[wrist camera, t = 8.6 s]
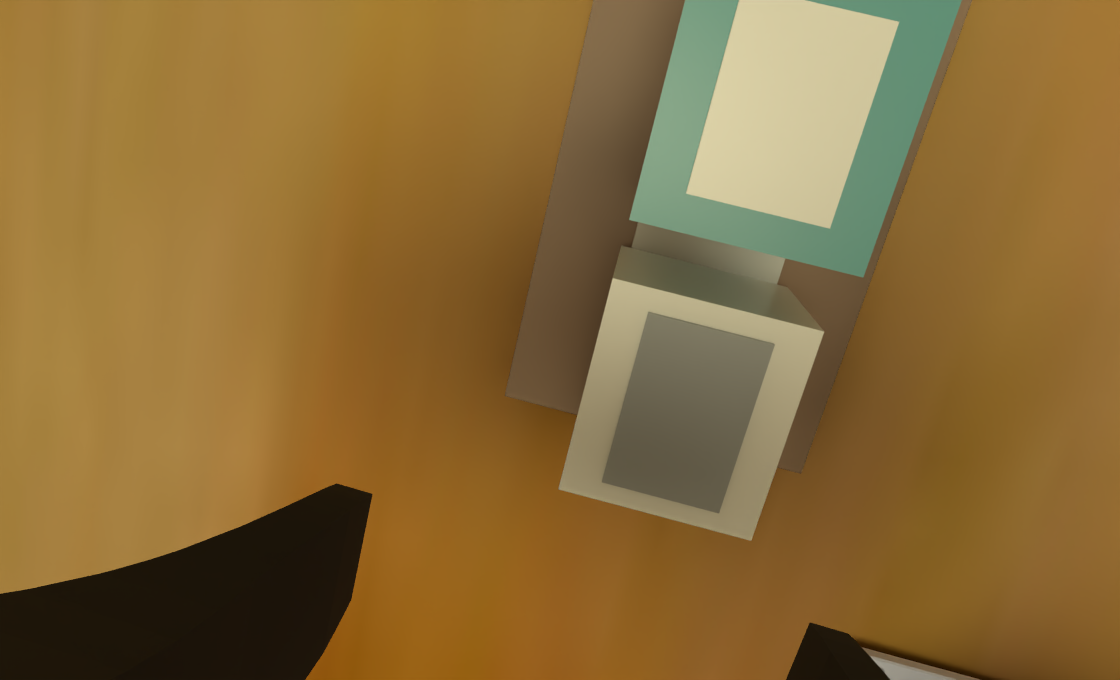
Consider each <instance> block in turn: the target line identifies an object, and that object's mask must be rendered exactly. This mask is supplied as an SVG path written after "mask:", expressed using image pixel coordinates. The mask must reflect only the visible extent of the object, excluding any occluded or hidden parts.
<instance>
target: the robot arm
mask: <svg viewBox="0 0 1120 680" xmlns="http://www.w3.org/2000/svg"><path fill="white" fill-rule="evenodd" d="M371 498H372V494H371V493H367V492H364V491H360V490H357V489H354V488H350V487H347V486H343V485H340V484H334V485H332V486H329V487H327V488H325V489H322V490H320V491H318V492H316V493H314V494H312V495H309V496H307V497H305V498H303V499H301V500H299V501H297V502H294V503H292V504H290V505H288V506H286V507H284V508H281V509H279V510H277V511H275V512H272V513H270V514H268V515H266V516H263V517H261V518H259V519H257V520H254V521H252V522H250V523H248V524H245V525H243V526H241V527H238V528H236V529H233V530H230V531H228V532H225V533H223V534H220V535H218V536H215V537H212V538H210V539H207V540H205V541H202V542H200V543H197V544H194V545H192V546H189V547H187V548H184V549H181V550H178V551H175V552H172V553H169V554H166V555H163V556H160V557H157V558H154V559H151V560H147V561H144V562H140V563H137V564H133V565H130V566H126V567H123V568H119V569H116V570H112V571H108V572H104V573H101V574H96V575H91V576H87V577H82V578H78V579H73V580H69V581H64V582H59V583H55V584H50V585H46V586H41V587H37V588H32V589H26V590H21V591H15V592H9V593H3V594H0V680H305V679H306V678H307V676H308V675H309V673H310V672H311V670H312V669H313V667H314V666H315V664H316V663H317V662H318V660H319V659H320V657H321V656H322V654H323V652H324V651H325V649H326V647H327V645H328V643H329V641H330V639H331V638H332V636H333V634H334V632H335V630H336V628H337V626H338V624H339V622H340V620H341V619H342V617H343V615H344V613H345V611H346V609H347V607H348V605H349V603H350V601H351V598H352V593H353V588H354V583H355V578H356V573H357V568H358V563H359V558H360V553H361V548H362V543H363V538H364V533H365V528H366V523H367V518H368V513H369V508H370V503H371ZM786 680H980V679H977V678H973V677H969V676H966V675H962V674H958V673H955V672H951V671H947V670H944V669H940V668H936V667H933V666H929V665H925V664H922V663H918V662H914V661H911V660H907V659H903V658H900V657H896V656H892V655H889V654H885V653H881V652H878V651H874V650H870V649H867V648H863V647H861V646H860V645H859V644H858V643H857V642H856V641H855V640H854V639H853V638H852V637H851V636H850V635H849V634H847V633H844V632H841V631H837V630H834V629H830V628H827V627H824V626H820V625H817V624H813V623H809V626H808V628H807V631H806V633H805V635H804V638H803V640H802V643H801V645H800V648H799V650H798V652H797V655H796V657H795V660H794V662H793V664H792V667H791V669H790V672H789V674H788V676H787V679H786Z"/></svg>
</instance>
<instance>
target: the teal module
mask: <svg viewBox="0 0 1120 680" xmlns="http://www.w3.org/2000/svg"><path fill="white" fill-rule="evenodd" d="M961 1H962V0H685V3H684V7H683V11H682V15H681V18H680V22H679V26H678V30H677V34H676V38H675V42H674V46H673V50H672V54H671V58H670V62H669V65H668V69H667V73H666V77H665V81H664V85H663V89H662V93H661V97H660V101H659V105H658V109H657V112H656V116H655V120H654V124H653V128H652V132H651V136H650V140H649V144H648V148H647V152H646V156H645V159H644V163H643V167H642V171H641V175H640V179H639V183H638V187H637V191H636V195H635V199H634V202H633V206H632V210H631V214H630V218H629V220H632V221H636V222H640V223H644V224H648V225H652V226H656V227H660V228H664V229H668V230H672V231H676V232H680V233H684V234H688V235H693V236H697V237H701V238H705V239H709V240H713V241H717V242H721V243H725V244H729V245H733V246H737V247H741V248H745V249H749V250H753V251H758V252H762V253H766V254H770V255H774V256H778V257H782V258H786V259H790V260H794V261H798V262H802V263H806V264H810V265H814V266H818V267H822V268H827V269H831V270H835V271H839V272H843V273H847V274H851V275H855V276H859V277H864V274H865V271H866V268H867V266H868V263H869V260H870V257H871V254H872V252H873V249H874V246H875V243H876V240H877V238H878V235H879V232H880V229H881V226H882V223H883V221H884V218H885V215H886V212H887V209H888V207H889V204H890V201H891V198H892V195H893V192H894V190H895V187H896V184H897V181H898V178H899V176H900V173H901V170H902V167H903V164H904V162H905V159H906V156H907V153H908V150H909V147H910V145H911V142H912V139H913V136H914V133H915V131H916V128H917V125H918V122H919V119H920V117H921V114H922V111H923V108H924V105H925V102H926V100H927V97H928V94H929V91H930V88H931V86H932V83H933V80H934V77H935V74H936V71H937V69H938V66H939V63H940V60H941V57H942V55H943V52H944V49H945V46H946V43H947V41H948V38H949V35H950V32H951V29H952V26H953V24H954V21H955V18H956V15H957V12H958V10H959V7H960V4H961Z"/></svg>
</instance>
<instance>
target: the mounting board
mask: <svg viewBox="0 0 1120 680" xmlns="http://www.w3.org/2000/svg"><path fill="white" fill-rule="evenodd" d="M971 2H972V0H962V1H961V4H960V7H959V10H958V12H957V15H956V18H955V21H954V24H953V26H952V29H951V32H950V35H949V38H948V41H947V43H946V46H945V49H944V52H943V55H942V57H941V60H940V63H939V66H938V69H937V71H936V74H935V77H934V80H933V83H932V86H931V88H930V91H929V94H928V97H927V100H926V102H925V105H924V108H923V111H922V114H921V117H920V119H919V122H918V125H917V128H916V131H915V133H914V136H913V139H912V142H911V145H910V147H909V150H908V153H907V156H906V159H905V162H904V164H903V167H902V170H901V173H900V176H899V178H898V181H897V184H896V187H895V190H894V192H893V195H892V198H891V201H890V204H889V207H888V209H887V212H886V215H885V218H884V221H883V223H882V226H881V229H880V232H879V235H878V238H877V240H876V243H875V246H874V249H873V252H872V254H871V257H870V260H869V263H868V266H867V268H866V271H865V274H864V277H859V276H855V275H851V274H847V273H843V272H839V271H835V270H831V269H827V268H822V267H818V266H814V265H810V264H806V263H802V262H798V261H794V260H790V259H786V258H782V257H778V256H774V255H770V254H766V253H762V252H758V251H753V250H749V249H745V248H741V247H737V246H733V245H729V244H725V243H721V242H717V241H713V240H709V239H705V238H701V237H697V236H693V235H688V234H684V233H680V232H676V231H672V230H668V229H664V228H660V227H656V226H652V225H648V224H644V223H640V222H636V221H632V220H629V218H630V214H631V210H632V206H633V202H634V199H635V195H636V191H637V187H638V183H639V179H640V175H641V171H642V167H643V163H644V159H645V156H646V152H647V148H648V144H649V140H650V136H651V132H652V128H653V124H654V120H655V116H656V112H657V109H658V105H659V101H660V97H661V93H662V89H663V85H664V81H665V77H666V73H667V69H668V65H669V62H670V58H671V54H672V50H673V46H674V42H675V38H676V34H677V30H678V26H679V22H680V18H681V15H682V11H683V7H684V3H685V0H593V5H592V9H591V14H590V18H589V23H588V27H587V31H586V36H585V40H584V45H583V49H582V54H581V58H580V63H579V67H578V72H577V76H576V81H575V85H574V89H573V94H572V98H571V103H570V107H569V112H568V116H567V121H566V125H565V130H564V134H563V138H562V143H561V147H560V152H559V156H558V161H557V165H556V170H555V174H554V179H553V183H552V187H551V192H550V196H549V201H548V205H547V210H546V214H545V219H544V223H543V228H542V232H541V237H540V241H539V245H538V250H537V254H536V259H535V263H534V268H533V272H532V277H531V281H530V286H529V290H528V294H527V299H526V303H525V308H524V312H523V317H522V321H521V326H520V330H519V335H518V339H517V343H516V348H515V352H514V357H513V361H512V366H511V370H510V375H509V379H508V384H507V388H506V392H505V396H507V397H511V398H515V399H518V400H522V401H526V402H530V403H534V404H537V405H541V406H545V407H549V408H553V409H557V410H560V411H564V412H568V413H572V414H576V415H578V411H579V407H580V403H581V399H582V395H583V392H584V388H585V384H586V380H587V376H588V372H589V368H590V364H591V360H592V357H593V353H594V349H595V345H596V341H597V337H598V333H599V329H600V325H601V322H602V318H603V314H604V310H605V306H606V302H607V298H608V294H609V290H610V287H611V283H612V279H613V275H614V271H615V267H616V264H617V260H618V256H619V252H620V249H621V246H625V247H629V248H633V249H637V250H641V251H645V252H649V253H653V254H657V255H661V256H665V257H669V258H673V259H677V260H681V261H685V262H689V263H693V264H697V265H701V266H705V267H709V268H713V269H717V270H721V271H725V272H729V273H733V274H737V275H741V276H745V277H749V278H753V279H757V280H761V281H765V282H769V283H773V284H777V285H781V286H785V287H788V288H789V290H790V291H791V292H792V293H793V294H794V296H795V297H796V298H797V299H798V300H799V302H800V303H801V304H802V305H803V306H804V308H805V309H806V310H807V311H808V312H809V314H810V315H811V316H812V317H813V319H814V320H815V321H816V322H817V323H818V325H819V326H820V327H821V328H822V329H823V331H824V334H823V337H822V340H821V343H820V345H819V348H818V351H817V354H816V357H815V360H814V363H813V365H812V368H811V371H810V374H809V377H808V380H807V383H806V385H805V388H804V391H803V394H802V397H801V400H800V403H799V405H798V408H797V411H796V414H795V417H794V420H793V423H792V425H791V428H790V431H789V434H788V437H787V440H786V443H785V446H784V448H783V451H782V454H781V457H780V460H779V463H778V466H777V467H778V468H782V469H785V470H789V471H793V472H797V473H801V472H802V470H803V467H804V464H805V461H806V459H807V456H808V453H809V450H810V447H811V445H812V442H813V439H814V436H815V434H816V431H817V428H818V425H819V423H820V420H821V417H822V414H823V411H824V409H825V406H826V403H827V400H828V398H829V395H830V392H831V389H832V387H833V384H834V381H835V378H836V376H837V373H838V370H839V367H840V364H841V362H842V359H843V356H844V353H845V351H846V348H847V345H848V342H849V340H850V337H851V334H852V331H853V328H854V326H855V323H856V320H857V317H858V315H859V312H860V309H861V306H862V304H863V301H864V298H865V295H866V292H867V290H868V287H869V284H870V281H871V279H872V276H873V273H874V270H875V268H876V265H877V262H878V259H879V256H880V254H881V251H882V248H883V245H884V243H885V240H886V237H887V234H888V232H889V229H890V226H891V223H892V221H893V218H894V215H895V212H896V209H897V207H898V204H899V201H900V198H901V196H902V193H903V190H904V187H905V185H906V182H907V179H908V176H909V173H910V171H911V168H912V165H913V162H914V160H915V157H916V154H917V151H918V149H919V146H920V143H921V140H922V137H923V135H924V132H925V129H926V126H927V124H928V121H929V118H930V115H931V113H932V110H933V107H934V104H935V101H936V99H937V96H938V93H939V90H940V88H941V85H942V82H943V79H944V77H945V74H946V71H947V68H948V65H949V63H950V60H951V57H952V54H953V52H954V49H955V46H956V43H957V41H958V38H959V35H960V32H961V30H962V27H963V24H964V21H965V18H966V16H967V13H968V10H969V7H970V5H971Z"/></svg>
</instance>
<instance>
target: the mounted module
mask: <svg viewBox="0 0 1120 680" xmlns="http://www.w3.org/2000/svg"><path fill="white" fill-rule="evenodd" d="M823 334H824V331H823V329H822V328H821V327H820V326H819V325H818V323H817V322H816V321H815V320H814V319H813V317H812V316H811V315H810V314H809V312H808V311H807V310H806V309H805V308H804V306H803V305H802V304H801V303H800V302H799V300H798V299H797V298H796V297H795V296H794V294H793V293H792V292H791V291H790V290H789V288H788V287H785V286H781V285H777V284H773V283H769V282H765V281H761V280H757V279H753V278H749V277H745V276H741V275H737V274H733V273H729V272H725V271H721V270H717V269H713V268H709V267H705V266H701V265H697V264H693V263H689V262H685V261H681V260H677V259H673V258H669V257H665V256H661V255H657V254H653V253H649V252H645V251H641V250H637V249H633V248H629V247H625V246H621V249H620V252H619V256H618V260H617V264H616V267H615V271H614V275H613V279H612V283H611V287H610V290H609V294H608V298H607V302H606V306H605V310H604V314H603V318H602V322H601V325H600V329H599V333H598V337H597V341H596V345H595V349H594V353H593V357H592V360H591V364H590V368H589V372H588V376H587V380H586V384H585V388H584V392H583V395H582V399H581V403H580V407H579V411H578V415H577V419H576V423H575V427H574V430H573V434H572V438H571V442H570V446H569V450H568V454H567V458H566V462H565V465H564V469H563V473H562V477H561V481H560V485H559V490H563V491H567V492H570V493H574V494H578V495H582V496H585V497H589V498H593V499H597V500H600V501H604V502H608V503H612V504H615V505H619V506H623V507H626V508H630V509H634V510H638V511H641V512H645V513H649V514H653V515H656V516H660V517H664V518H668V519H671V520H675V521H679V522H683V523H686V524H690V525H694V526H698V527H701V528H705V529H709V530H712V531H716V532H720V533H724V534H727V535H731V536H735V537H739V538H742V539H746V540H750V541H751V540H752V537H753V534H754V531H755V528H756V526H757V523H758V520H759V517H760V514H761V511H762V508H763V506H764V503H765V500H766V497H767V494H768V491H769V488H770V486H771V483H772V480H773V477H774V474H775V471H776V468H777V466H778V463H779V460H780V457H781V454H782V451H783V448H784V446H785V443H786V440H787V437H788V434H789V431H790V428H791V425H792V423H793V420H794V417H795V414H796V411H797V408H798V405H799V403H800V400H801V397H802V394H803V391H804V388H805V385H806V383H807V380H808V377H809V374H810V371H811V368H812V365H813V363H814V360H815V357H816V354H817V351H818V348H819V345H820V343H821V340H822V337H823Z"/></svg>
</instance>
